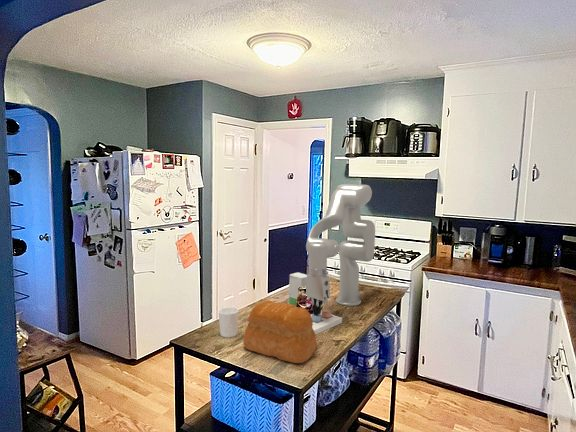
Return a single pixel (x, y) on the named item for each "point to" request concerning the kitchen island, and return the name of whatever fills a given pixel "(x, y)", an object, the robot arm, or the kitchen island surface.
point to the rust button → (326, 314)
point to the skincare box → (295, 286)
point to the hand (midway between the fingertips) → (316, 313)
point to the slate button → (316, 318)
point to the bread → (281, 332)
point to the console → (326, 323)
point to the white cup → (228, 321)
